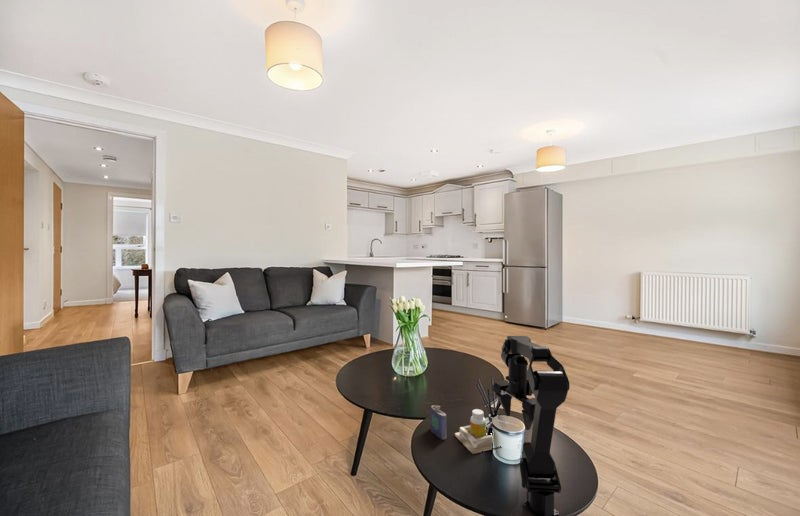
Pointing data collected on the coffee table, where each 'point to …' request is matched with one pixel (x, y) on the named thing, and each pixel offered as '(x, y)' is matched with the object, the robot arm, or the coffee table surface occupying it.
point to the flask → (438, 422)
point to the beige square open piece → (474, 440)
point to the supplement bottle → (477, 424)
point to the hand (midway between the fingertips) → (517, 422)
